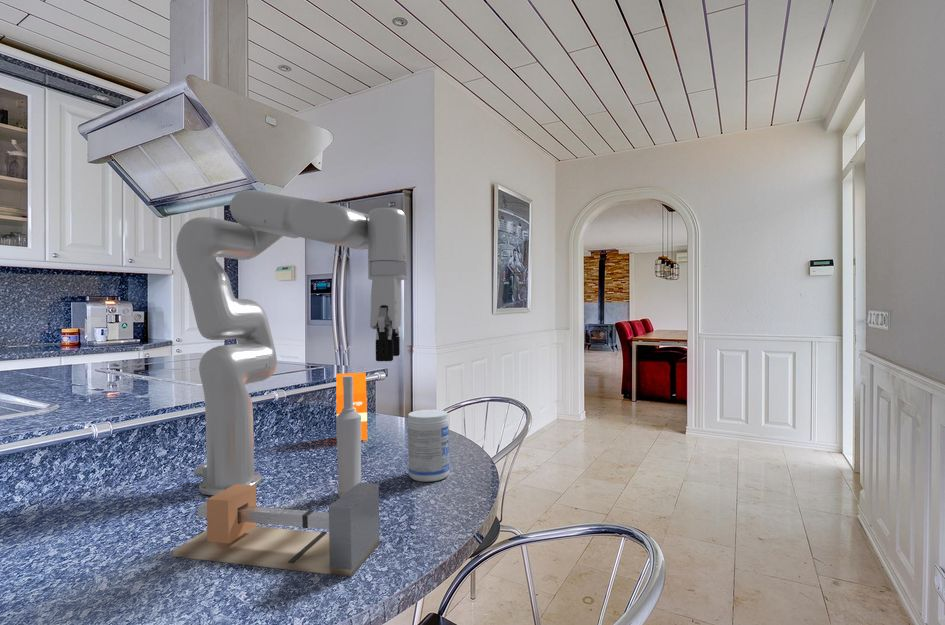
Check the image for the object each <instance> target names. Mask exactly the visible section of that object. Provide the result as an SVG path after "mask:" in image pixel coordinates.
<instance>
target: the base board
mask: <svg viewBox="0 0 945 625" xmlns="http://www.w3.org/2000/svg"><path fill="white" fill-rule="evenodd" d="M379 539H380V538H379ZM380 540H381V539H380ZM380 540H377V542H376V543H375V544H376V545H378V546H380V543H379V542H380ZM378 541H379V542H378ZM378 543H379V544H378ZM375 544H374V545H373V546H372V547H371V548H372V549H373V548H374V547H375ZM371 548H370V550H371V553H369V552H370V550H369V551H368V552H367V555H365V556H363V557H366V558H363V559H364V561H365V562H366V561H367V559H369V557H370V556H371V555H372V554H373V552H374V551H375V550H376V549H377V548H378V547H377V546H376V549H375V548H374V549H375V550H374V549H373V550H374V551H373V550H372V549H371ZM172 554H173V555H172V556H173V557H175V558H176V557H177V558H184V559H194V560H195V559H196V560H201V561H202V560H203V561H209V562H210V561H212V562H219V563H220V562H221V563H229V564H236V565H245V566H253V567H254V566H255V567H263V568H272V569H283V570H289V571H297V572H298V571H299V572H304V573H306V572H307V573H314V574H315V573H316V574H323V575H333V574H334V575H333V576H340V575H344V576H343V577H349V578H351V577H353V576H354V574H356V573H357V572H358V570H359V569H360V567H361V566H362V565H363V564H362V562H364V561H362V560H360V561H362V562H361V564H362V565H361V566H360V567H359V568H358V570H357V568H356V567H358V566H357V565H356V566H355V568H353V569H354V570H356V571H354V570H353V571H354V572H355V573H353V571H352V570H350V571H352V572H350V574H349V575H350V576H351V577H350V576H347V574H348V573H349V572H348V570H347V569H338V568H336V569H334V568H333V569H332V568H331V569H330V554H329V532H328V531H322V532H319V531H307V530H298V529H287V528H277V527H267V526H257V525H256V526H254V527H253V528H251V529H250V530H248V531H247V532H245V533H244V534H242V535H241V536H239V537H238V538H236V539H235V540H233V541H232V542H230V543H229V544H228V543H219V542H209V541H207V529H206V530H205V531H203V532H202V533H200V534H198V535H196V536H195V537H193V538H192V539H190V540H187V541H186V542H184V543H183V544H181V545H179V546H178V547H176V548H174V549H173V553H172ZM367 556H369V557H367ZM360 561H359V562H360ZM359 562H358V565H359V564H360V563H359ZM365 562H364V563H365ZM331 570H332V571H333V570H334V571H335V570H336V571H338V572H336V573H337V574H336V575H335V572H334V571H333V573H332V574H331ZM343 570H344V572H343ZM340 571H341V572H340ZM345 572H346V573H345ZM341 573H342V574H341ZM343 573H344V574H343ZM352 573H353V574H352ZM345 575H346V576H345ZM352 575H353V576H352Z"/></svg>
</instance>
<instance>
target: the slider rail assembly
mask: <svg viewBox="0 0 945 625" xmlns="http://www.w3.org/2000/svg"><path fill="white" fill-rule="evenodd" d="M379 486H380V485H379V483H370V482H361V483H358V484H357V485H355V486H354V487H353V488H352V489H350V490H349V491H348V492H347V493H345V494H344V495H343V496H342V497H338V499H336V501H334V502H333V503H331V504H329V506H328V512H326V511H324V512H323V511H315V510H311V509H309V510H303V509H301V510H299V509H290V508H289V509H288V508H276V507H267V506H266V507H265V506H264V507H263V506H257V507H255V506H241V507H240V508H238V509H237V511H238V521H243V522H254V523H257V524H268V525H276V526H278V525H279V526H287V527H300V528H302V529H308V528H310V529H320V530H321V529H322V530H328V533H329V554H330V569H331V568H332V569H333V568H334V569H336V568H338V569H347V570H348V572H349V573H348V574H347V576H346V575H345V576H344V575H339V576H340V577H341V576H342V577H349V576H350V575H349V574H350V572H352V571H353V570H354V569H353V568H355V566H356V565H357V566H358V567H356V568H357V571H358V570H359V569H360V568H359V567H360V566H363V564H364V563H365V562H366V561H364V559H363V558H366V557H363V556H365V555H367V552H368V551H369V550H370V548H371V547H372V546H373V545H374V544H375V543H376V542H377V540H381V539H379V538H380V501H379V500H380V490H379ZM197 518H199V519H201V518H202V519H207V501H206V502H204V503H201V504H200V505H197ZM378 542H379V541H378ZM379 543H380V542H379ZM379 543H378V544H379ZM379 545H380V544H379ZM379 545H376V544H375V547H374V548H375V549H374V548H373V549H374V550H373V549H372V548H371V549H372V550H373V552H375V550H376V549H377V548H378V547H379ZM376 546H377V548H376ZM369 553H371V550H370V552H369ZM367 557H368V558H369V557H370V556H367ZM360 560H362V561H364V562H362V561H360ZM359 561H360V562H359ZM358 562H359V563H360V564H359V565H358ZM361 562H362V564H361ZM358 568H359V569H358ZM350 570H352V571H350ZM333 571H334V570H333ZM333 571H332V570H331V574H330V575H332V573H333ZM354 571H356V570H354ZM354 571H353V573H355V574H356V572H357V571H356V572H354ZM334 572H335V575H334V574H333V576H337V575H336V574H337V573H336V572H338V571H336V570H335V571H334ZM340 572H341V571H340ZM343 572H344V570H343ZM345 573H346V572H345ZM353 573H352V574H353ZM341 574H342V573H341ZM343 574H344V573H343ZM353 576H354V575H352V577H353ZM349 578H351V576H350V577H349Z"/></svg>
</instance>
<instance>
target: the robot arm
mask: <svg viewBox="0 0 945 625" xmlns="http://www.w3.org/2000/svg"><path fill="white" fill-rule="evenodd" d="M229 210H230V211H229V212H230V214H231V216H232V217H233V219H234V221H230V220H225V219H221V218H215V217H208V216H207V217H206V216H202V217H201V216H199V217H195V218H191V219H189V220H188V221H186V222H185V223H184V224H183V225H182V226H181V228H180V230H179V232H178V235H177V238H176V243H175V244H176V246H175V248H176V255H177V256H176V257H177V260H178V264H179V265H180V268H181V271H182V273H183V276H184V278H185V281H186V283H187V284H186V285H187V288H188V293H189V296H190V301H191V305H192V310H193V314H194V319H195V322H196V325H197V328H198V332H199V334H200V335H201V336H202V337H203V338H204V339H207V340H209V341H210V340H211V341H226V340H236V341H237V342H236V343H232V344H223V345H217V346H215V347H212V348H210V349H209V350H207V351H206V352H205V353H203V355H202V357H201V358H200V361H199V365H198V371H199V378H200V381H201V384H202V389H203V395H204V411H205V415H204V417H205V446H206V448H205V449H206V450H205V452H206V464H199V465H198V466H197V467H196V468H197V469H195V470H194V471H193V475H194V476H195V477H202V481H201V482H200V484H199V485H198V492H200V493H201V495H202V494H203V495H205V496H206V495H207V496H214V495H216V494H218V493H220V492H222V491H224V490H225V489H227V488H229V487H231V486H233V485H235V484H242V485H255V486H256V487H258V485H260V484H261V483H262V481H263V478H262V474H261V473H259V472H256V471H255V448H254V446H255V442H254V406H253V401H252V397H251V395H250V393H249V392H248V390H247V388H246V385H248V384H249V385H250V384H255V383H258V382H263V381H266V380H268V379H269V378H271V377H272V376H273V375H274V373H275V372H276V369H277V362H278V361H277V360H278V359H277V354H276V353H277V352H276V347H275V343H274V340H273V336H272V331H271V328H270V324H269V320H268V316H267V313H266V311H265V310H264V308H263V307H262V306H261V305H260V303H258V302H257V301H255V300H252V299H249V298H248V299H247V298H236V297H235V295H234V292H233V289H232V285H231V281H230V278H229V275H228V273H227V272H226V270H225V269H224V268H223V266H222V265H221V264H220V263H219V262H218V260H217V257H218V258H224V259H233V260H240V261H244V260H245V261H246V260H251V259H253V258H256V257H257V256H259V255H260V254H262V253H263V252H264V251H266V250H267V249H269V248H270V247H271V246H272V245H274V244H275V243H277V242H278V241H279V240H280V239H281V238H283V237H285V238H290V239H298V238H303V239H307V240H310V241H311V240H312V241H316V242H320V243H325V244H330V245H335V246H340V247H345V248H349V249H352V250H353V249H354V250H359V251H361V250H362V251H364V250H367V269H368V270H367V271H368V272H367V274H368V275H367V276H368V277H367V278H368V280H369V281H370V280H372V281H371V291H370V292H371V293H370V318H369V324H370V326H369V327H370V329H372V330H376V333H375V361H376V362H392V361H394V357H398V356H400V352H401V350H400V347H401V346H400V343H401V342H400V338H401V337H400V331H399V328H400V327H401V324H402V281H404V280H405V281H406V280H408V279H407V278H408V276H407V274H408V273H407V271H408V270H407V268H408V266H407V264H408V263H407V257H408V256H407V216H406V214H405V212H404V211H403V210H402V209H399V208H396V207H376V208H373V209H371V210H370V211H368V213H364V212H360V211H358V210H355V209H352V208H349V207H345V206H343V205H340V204H336V203H329V202H324V201H318V200H315V199H314V200H312V199H307V198H301V197H295V196H289V195H283V194H278V193H274V192H266V191H261V190H255V189H247V190H242V191H239V192H238V193H236V194H235V195H233V197H232V198H231V200H230V203H229ZM235 221H236V222H235Z"/></svg>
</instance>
